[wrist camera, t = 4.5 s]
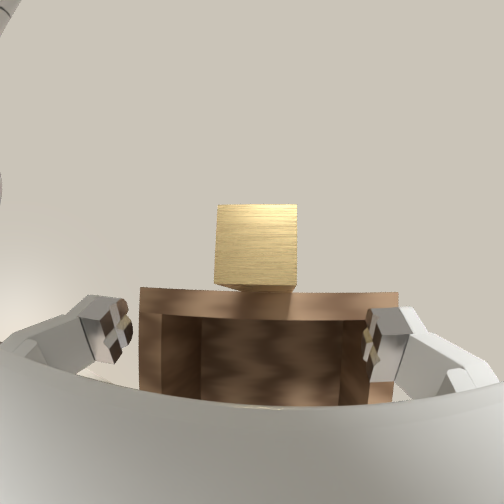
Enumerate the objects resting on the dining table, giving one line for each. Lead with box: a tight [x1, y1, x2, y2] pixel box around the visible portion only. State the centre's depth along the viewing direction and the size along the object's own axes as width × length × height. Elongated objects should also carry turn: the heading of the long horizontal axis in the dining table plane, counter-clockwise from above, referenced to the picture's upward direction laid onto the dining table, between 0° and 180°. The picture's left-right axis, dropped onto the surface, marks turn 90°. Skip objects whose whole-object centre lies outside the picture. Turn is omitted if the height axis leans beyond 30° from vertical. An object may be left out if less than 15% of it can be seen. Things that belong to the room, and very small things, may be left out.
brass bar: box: [214, 204, 297, 293], centre depth 25 cm, size 4×23×4 cm, turn 174°
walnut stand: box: [139, 287, 398, 407], centre depth 27 cm, size 20×14×26 cm
